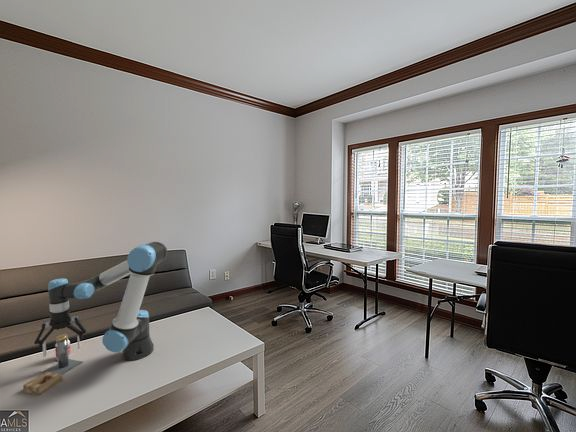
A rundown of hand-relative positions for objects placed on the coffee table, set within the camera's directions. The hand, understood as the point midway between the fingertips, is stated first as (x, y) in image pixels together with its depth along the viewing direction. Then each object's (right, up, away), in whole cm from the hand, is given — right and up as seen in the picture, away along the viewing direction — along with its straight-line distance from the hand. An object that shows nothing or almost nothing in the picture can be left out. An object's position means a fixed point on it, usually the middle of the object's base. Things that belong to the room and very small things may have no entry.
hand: (62, 351), depth 138 cm
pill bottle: (-7, -8, +9) cm, 14 cm away
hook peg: (0, -8, +1) cm, 8 cm away
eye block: (+3, -9, -14) cm, 17 cm away
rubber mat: (0, -8, +1) cm, 8 cm away
